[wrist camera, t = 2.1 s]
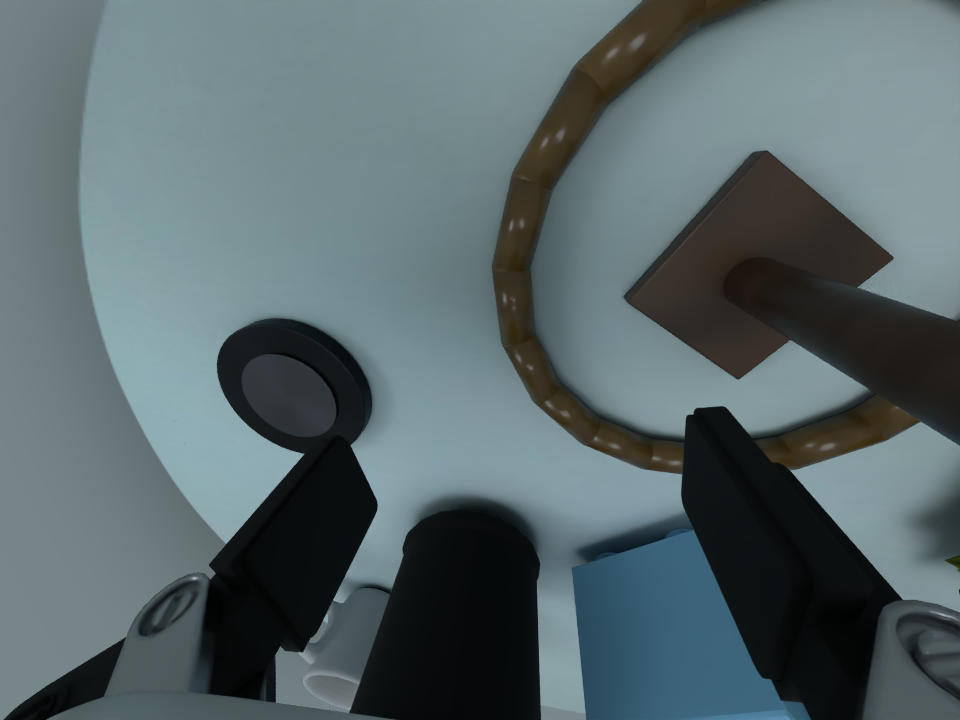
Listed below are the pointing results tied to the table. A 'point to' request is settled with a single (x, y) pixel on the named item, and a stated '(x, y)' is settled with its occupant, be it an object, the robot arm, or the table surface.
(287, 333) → the disc
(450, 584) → the container
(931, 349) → the brown wall peg
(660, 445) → the ring
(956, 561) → the vegetable
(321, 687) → the cup
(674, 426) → the table surface
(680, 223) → the table surface
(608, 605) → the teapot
